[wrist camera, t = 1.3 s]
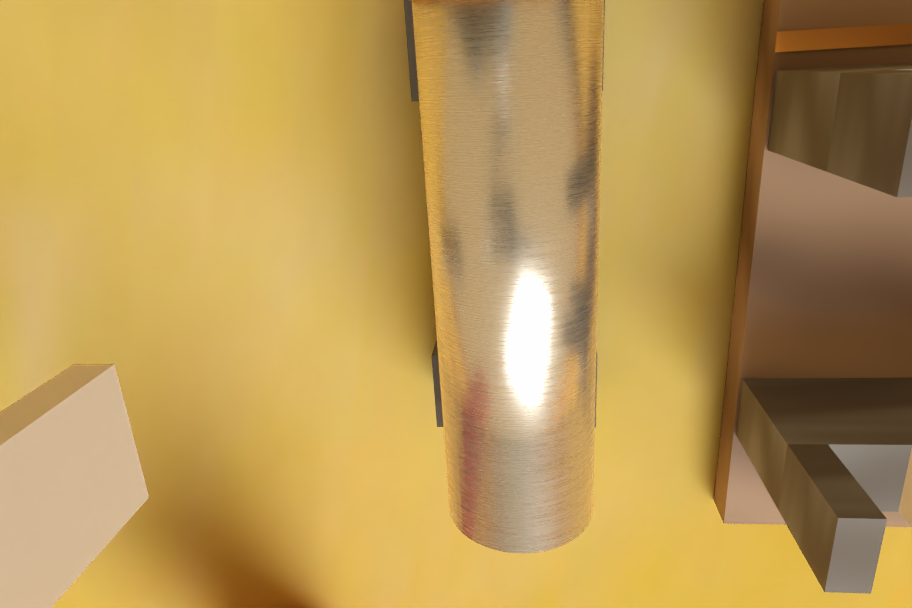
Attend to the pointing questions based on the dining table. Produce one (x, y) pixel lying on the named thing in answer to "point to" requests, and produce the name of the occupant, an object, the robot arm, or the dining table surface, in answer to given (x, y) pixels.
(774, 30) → the dark grey notched piece
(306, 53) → the dining table surface
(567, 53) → the silver metal cylinder
